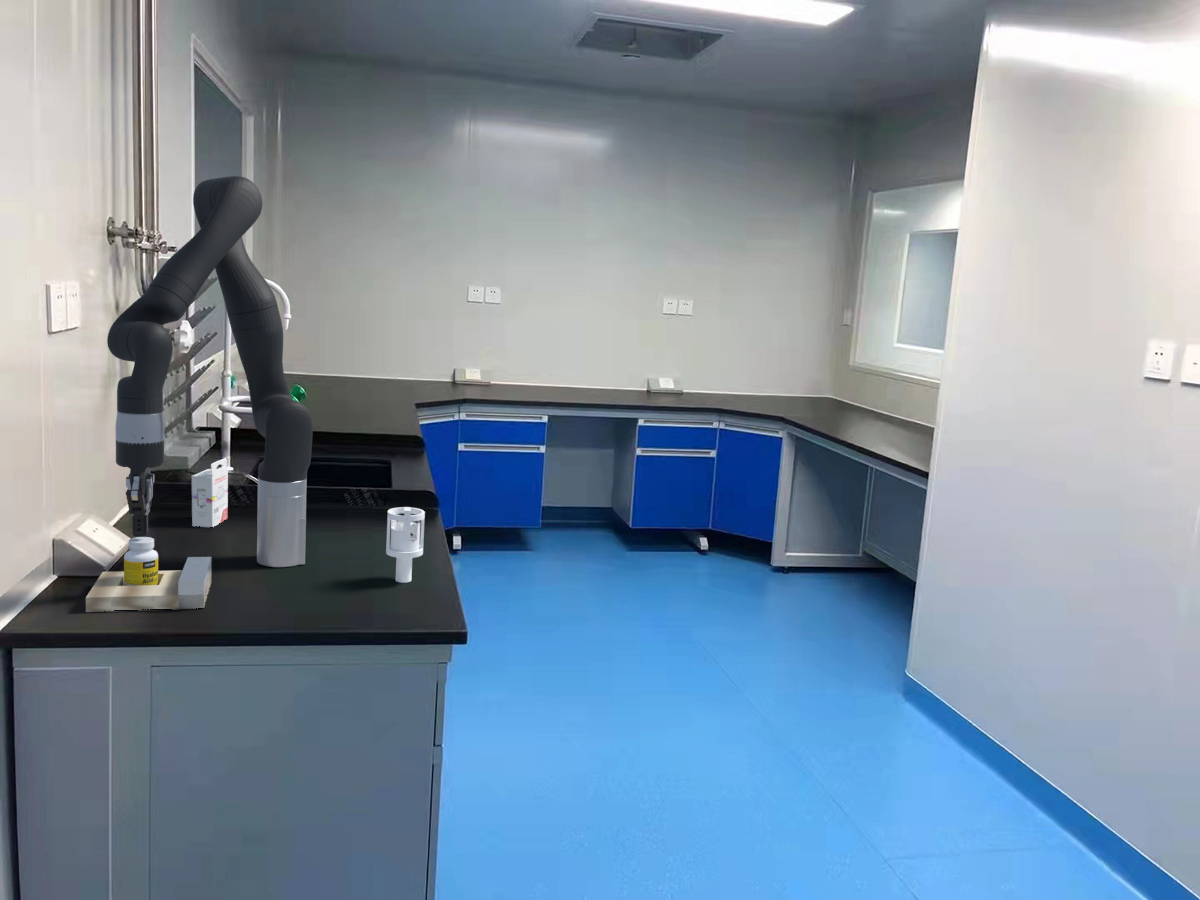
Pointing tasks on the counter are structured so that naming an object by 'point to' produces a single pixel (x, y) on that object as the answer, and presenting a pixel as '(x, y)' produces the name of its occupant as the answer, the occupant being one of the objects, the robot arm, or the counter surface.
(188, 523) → the counter surface
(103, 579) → the jig
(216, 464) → the ink cartridge box
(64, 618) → the counter surface
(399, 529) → the strainer
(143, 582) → the supplement bottle
